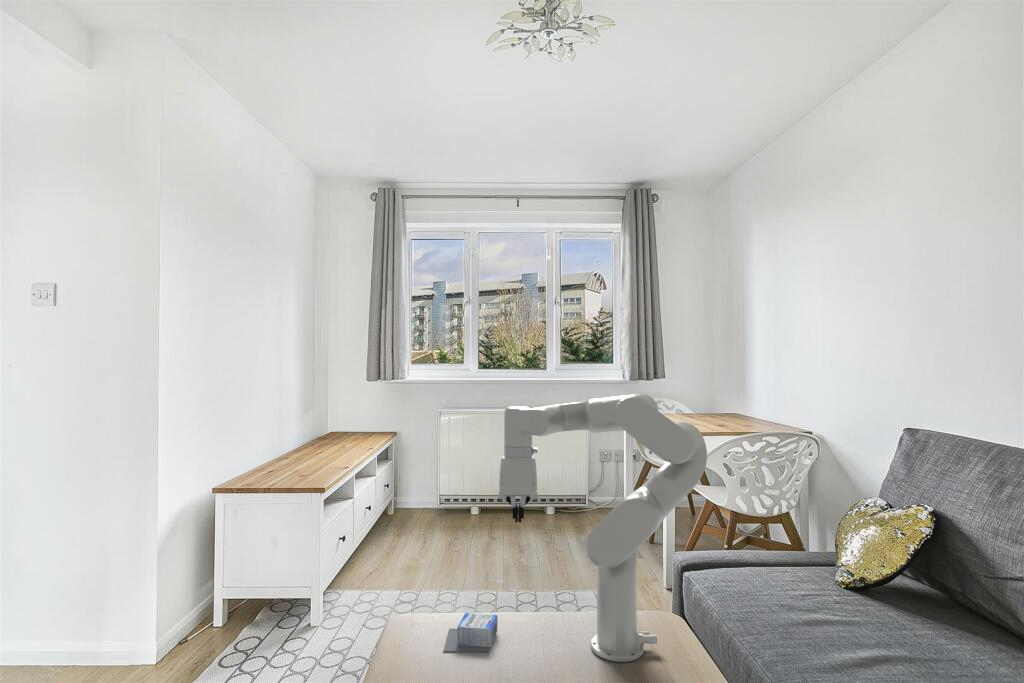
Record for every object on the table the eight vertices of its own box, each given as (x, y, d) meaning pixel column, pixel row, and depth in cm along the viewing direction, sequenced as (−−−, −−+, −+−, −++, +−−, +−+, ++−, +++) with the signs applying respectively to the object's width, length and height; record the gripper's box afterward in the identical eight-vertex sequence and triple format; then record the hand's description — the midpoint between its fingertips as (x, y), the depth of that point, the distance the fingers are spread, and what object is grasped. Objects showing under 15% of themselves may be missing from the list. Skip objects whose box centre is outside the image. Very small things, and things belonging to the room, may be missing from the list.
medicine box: (491, 629, 129) (457, 626, 131) (491, 648, 129) (456, 645, 130) (497, 614, 137) (465, 611, 138) (497, 632, 137) (464, 629, 138)
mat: (491, 629, 138) (491, 628, 139) (489, 652, 128) (489, 651, 128) (449, 629, 139) (449, 628, 139) (443, 652, 128) (443, 650, 128)
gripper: (545, 450, 147) (545, 517, 146) (491, 450, 147) (490, 517, 147) (546, 454, 140) (546, 525, 139) (489, 454, 140) (489, 525, 139)
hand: (518, 521), depth 143 cm, fingers closed
